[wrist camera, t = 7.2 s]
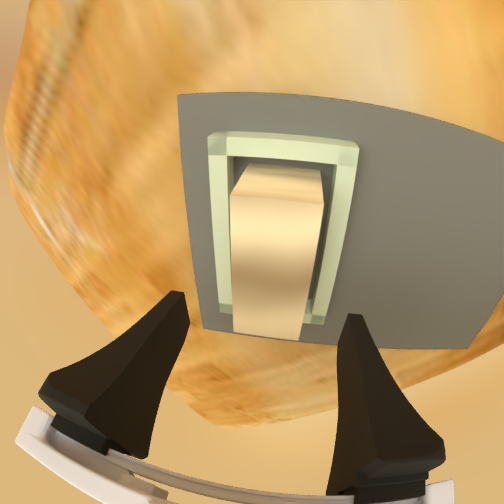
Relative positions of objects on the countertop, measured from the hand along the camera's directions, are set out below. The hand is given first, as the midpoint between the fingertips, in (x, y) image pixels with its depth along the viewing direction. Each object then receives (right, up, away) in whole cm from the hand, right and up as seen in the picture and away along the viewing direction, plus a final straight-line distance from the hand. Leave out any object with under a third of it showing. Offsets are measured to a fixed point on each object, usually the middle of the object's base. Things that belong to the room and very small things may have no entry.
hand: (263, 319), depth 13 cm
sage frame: (+1, +4, +6) cm, 8 cm away
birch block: (+1, +4, +6) cm, 7 cm away
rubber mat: (+8, +3, +6) cm, 10 cm away
